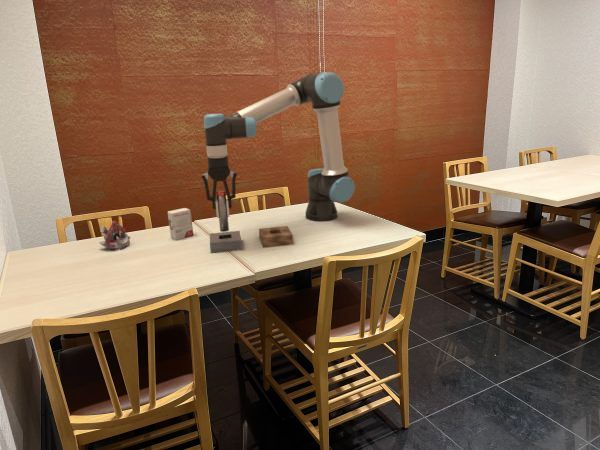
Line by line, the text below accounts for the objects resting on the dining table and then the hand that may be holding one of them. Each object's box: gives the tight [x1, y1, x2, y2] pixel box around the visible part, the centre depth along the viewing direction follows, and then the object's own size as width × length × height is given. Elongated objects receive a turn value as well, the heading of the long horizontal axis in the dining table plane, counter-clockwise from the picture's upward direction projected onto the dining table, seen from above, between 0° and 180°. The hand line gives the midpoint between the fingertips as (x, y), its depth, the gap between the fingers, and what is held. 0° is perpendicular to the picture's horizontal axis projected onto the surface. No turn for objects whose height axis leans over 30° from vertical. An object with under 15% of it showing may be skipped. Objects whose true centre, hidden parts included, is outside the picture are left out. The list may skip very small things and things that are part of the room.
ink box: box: [167, 207, 194, 241], centre depth 188 cm, size 9×5×12 cm, turn 129°
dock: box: [209, 230, 243, 254], centre depth 175 cm, size 12×12×4 cm
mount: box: [258, 225, 294, 248], centre depth 179 cm, size 12×12×4 cm
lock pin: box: [216, 190, 230, 233], centre depth 172 cm, size 3×3×16 cm
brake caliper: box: [98, 220, 131, 251], centre depth 180 cm, size 11×11×12 cm
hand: (223, 216), depth 172 cm, fingers closed on lock pin, 3 cm apart
